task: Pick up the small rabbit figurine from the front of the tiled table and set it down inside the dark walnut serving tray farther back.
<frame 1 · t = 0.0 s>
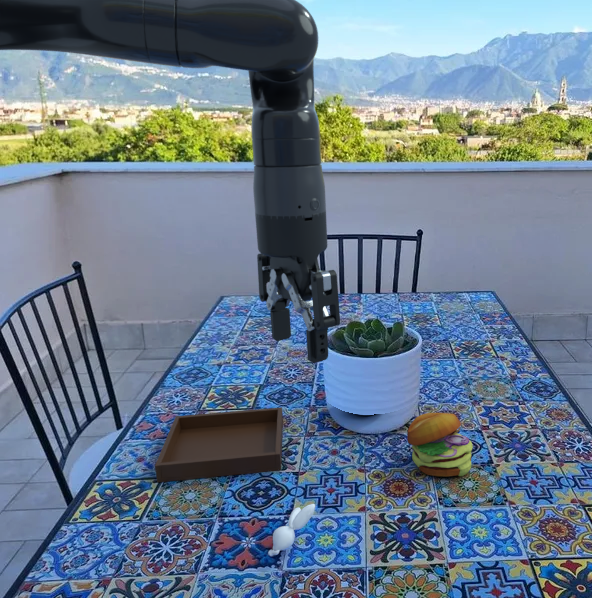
hand: (299, 349, 65), 30 cm above the table, tool pointing down, fingers open, 8 cm apart
tray: (226, 449, 100), on the table
cheeseburger: (439, 464, 95), on the table
rabbit figurine: (294, 543, 77), on the table
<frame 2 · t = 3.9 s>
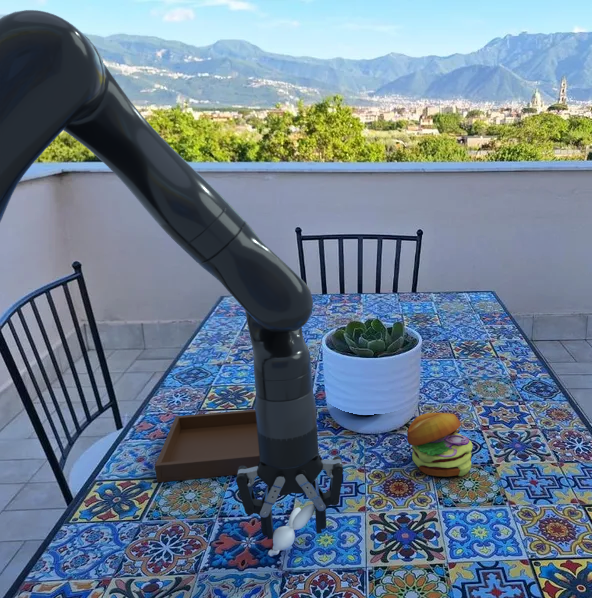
hand: (295, 532, 76), 2 cm above the table, tool pointing down, fingers closed on rabbit figurine, 6 cm apart
rabbit figurine: (294, 543, 77), on the table, touching gripper
everything else where it was.
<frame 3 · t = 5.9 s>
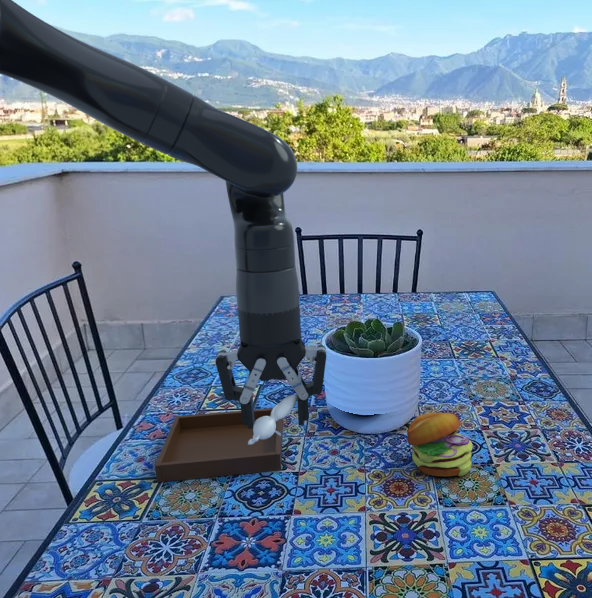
hand: (276, 423, 74), 17 cm above the table, tool pointing down, fingers closed on rabbit figurine, 6 cm apart
rabbit figurine: (276, 436, 74), point 15 cm above the table, touching gripper
everything else where it was.
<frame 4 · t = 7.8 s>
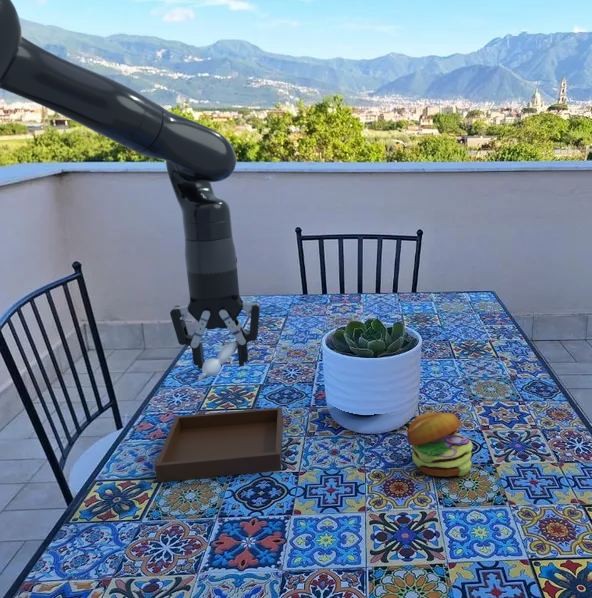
hand: (222, 365, 92), 17 cm above the table, tool pointing down, fingers closed on rabbit figurine, 6 cm apart
rabbit figurine: (222, 375, 93), point 15 cm above the table, touching gripper
everything else where it was.
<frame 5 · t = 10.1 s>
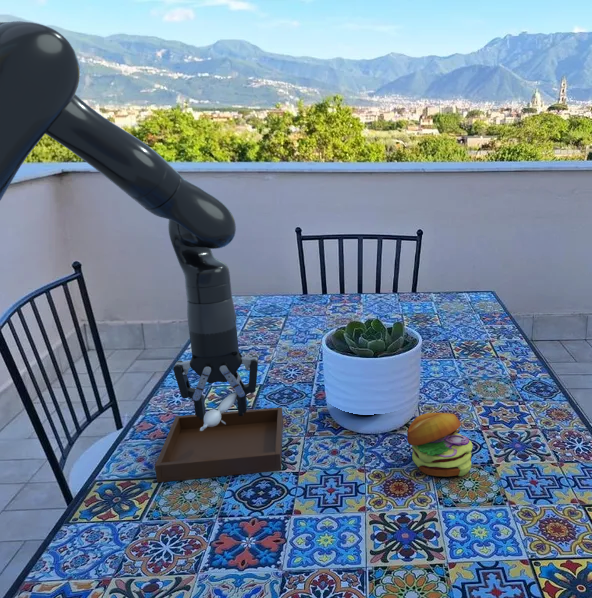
hand: (222, 415, 98), 7 cm above the table, tool pointing down, fingers closed on rabbit figurine, 6 cm apart
rabbit figurine: (222, 425, 98), point 5 cm above the table, touching gripper
everything else where it was.
when the fingers open (2 cm above the table, at t = 11.7 s): rabbit figurine stays where it is, resting on tray.
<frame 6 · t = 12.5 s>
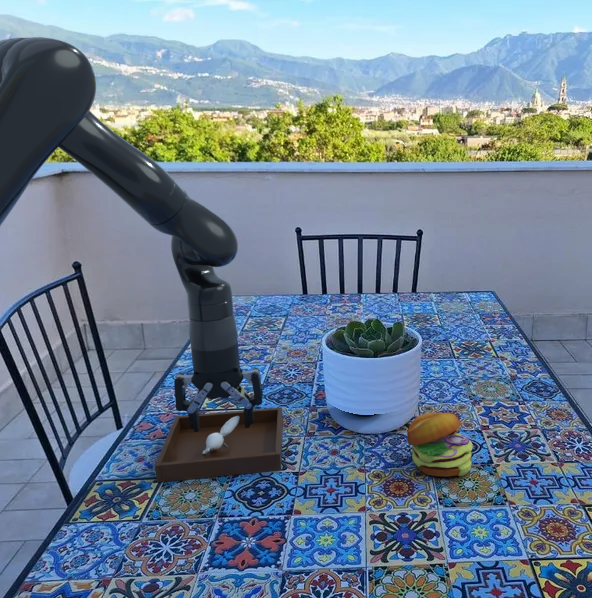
hand: (222, 427, 98), 4 cm above the table, tool pointing down, fingers open, 8 cm apart
rabbit figurine: (224, 447, 99), resting on tray
everything else where it was.
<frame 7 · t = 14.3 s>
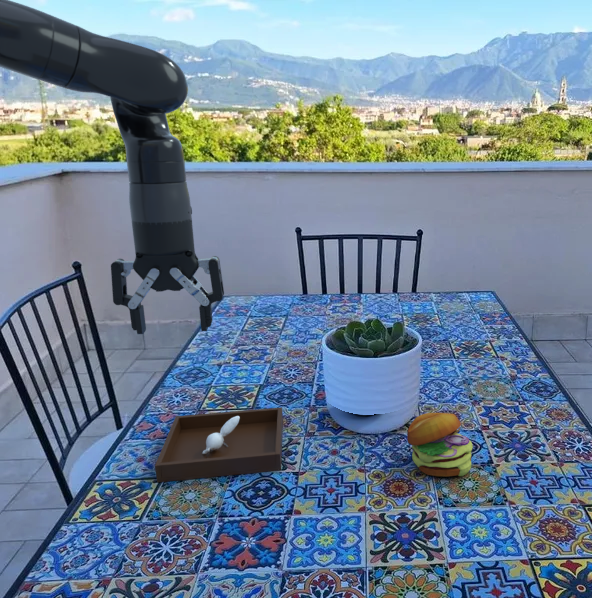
hand: (173, 331, 80), 27 cm above the table, tool pointing down, fingers open, 8 cm apart
nothing on the table moved.
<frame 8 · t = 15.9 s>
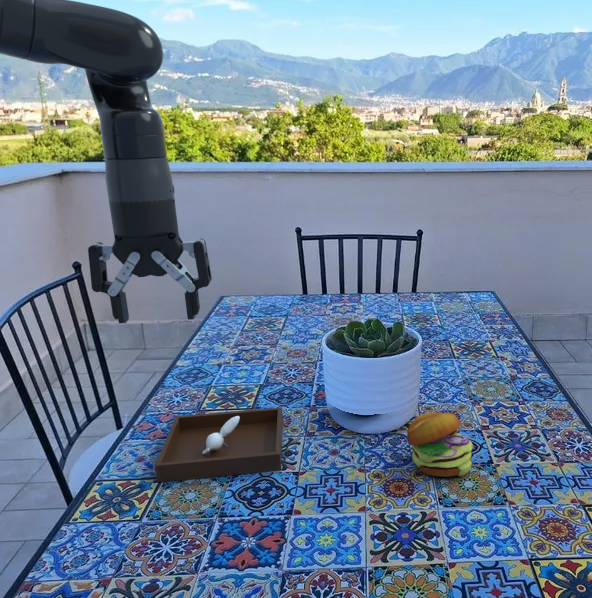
hand: (158, 319, 74), 30 cm above the table, tool pointing down, fingers open, 8 cm apart
nothing on the table moved.
at the end: rabbit figurine inside the target area in the tray (0.2 cm from its centre), point 0.4 cm above the tray's base; rabbit figurine tilted 0° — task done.
